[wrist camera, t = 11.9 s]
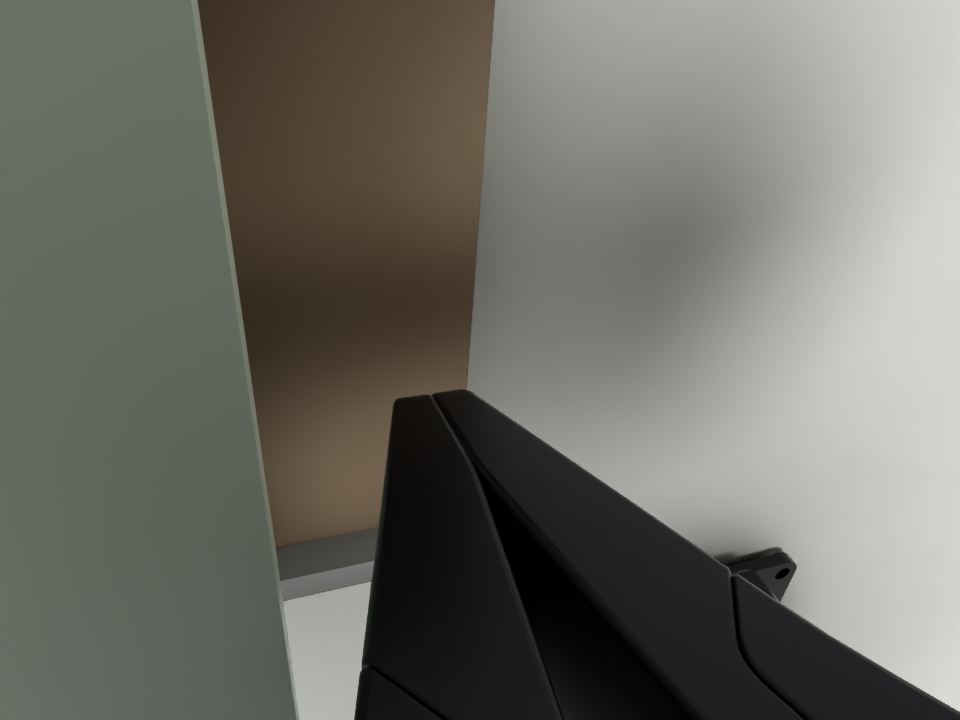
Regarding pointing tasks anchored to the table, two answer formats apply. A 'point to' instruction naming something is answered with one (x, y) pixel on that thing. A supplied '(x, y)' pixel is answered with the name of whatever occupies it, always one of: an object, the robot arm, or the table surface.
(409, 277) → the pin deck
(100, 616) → the housing
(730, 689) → the robot arm
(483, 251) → the table surface
